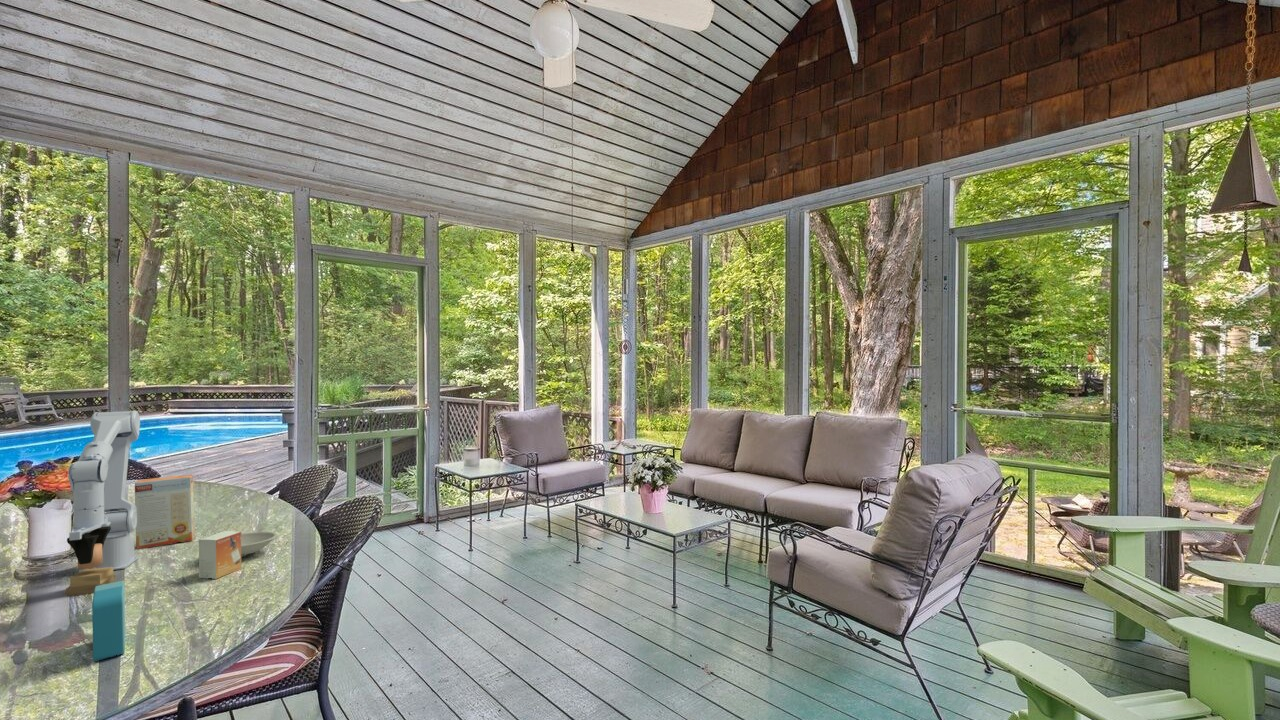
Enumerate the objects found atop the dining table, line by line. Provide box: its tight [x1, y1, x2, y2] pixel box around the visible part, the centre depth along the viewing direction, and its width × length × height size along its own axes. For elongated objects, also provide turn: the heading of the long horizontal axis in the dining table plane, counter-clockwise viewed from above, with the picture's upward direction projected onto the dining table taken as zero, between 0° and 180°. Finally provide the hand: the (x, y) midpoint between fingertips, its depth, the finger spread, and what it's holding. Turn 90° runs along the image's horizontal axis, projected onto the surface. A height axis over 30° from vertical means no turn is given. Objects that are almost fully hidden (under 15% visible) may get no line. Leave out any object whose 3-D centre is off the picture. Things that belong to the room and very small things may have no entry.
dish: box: [241, 531, 278, 558], centre depth 171 cm, size 18×14×5 cm
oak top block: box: [69, 567, 114, 587], centre depth 148 cm, size 6×6×2 cm
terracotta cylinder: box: [77, 543, 103, 570], centre depth 148 cm, size 5×5×5 cm
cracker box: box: [134, 474, 196, 550], centre depth 184 cm, size 14×6×21 cm, turn 121°
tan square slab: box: [65, 574, 116, 597], centre depth 148 cm, size 7×7×2 cm
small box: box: [198, 530, 242, 580], centre depth 157 cm, size 8×6×10 cm
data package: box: [91, 580, 126, 662], centre depth 117 cm, size 12×4×12 cm, turn 41°
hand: (90, 560), depth 148 cm, fingers closed on terracotta cylinder, 4 cm apart
